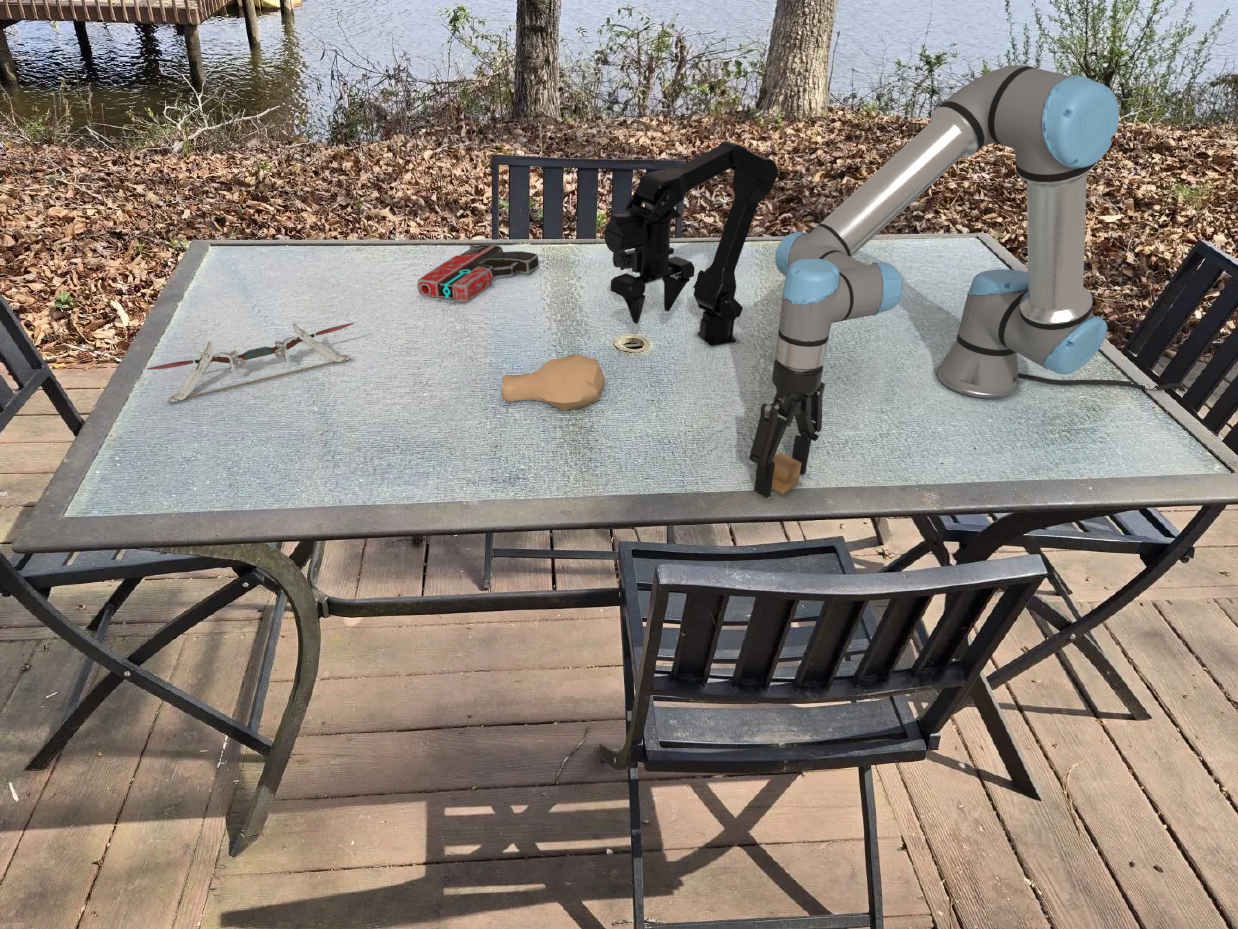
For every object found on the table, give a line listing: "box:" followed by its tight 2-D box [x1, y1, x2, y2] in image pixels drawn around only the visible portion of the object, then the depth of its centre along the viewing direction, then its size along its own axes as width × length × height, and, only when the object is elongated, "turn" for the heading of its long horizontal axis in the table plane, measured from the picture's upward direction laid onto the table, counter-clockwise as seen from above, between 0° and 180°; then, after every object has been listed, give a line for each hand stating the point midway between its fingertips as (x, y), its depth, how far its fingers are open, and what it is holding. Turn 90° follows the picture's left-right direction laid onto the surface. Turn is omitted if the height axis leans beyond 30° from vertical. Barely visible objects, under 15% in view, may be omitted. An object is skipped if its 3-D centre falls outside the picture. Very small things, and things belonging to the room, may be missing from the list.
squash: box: [500, 353, 606, 411], centre depth 166 cm, size 11×20×9 cm, turn 90°
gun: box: [416, 243, 540, 303], centre depth 216 cm, size 4×31×19 cm
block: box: [771, 451, 801, 495], centre depth 146 cm, size 4×4×4 cm
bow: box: [146, 322, 355, 403], centre depth 169 cm, size 39×2×10 cm, turn 124°
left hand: (651, 316), depth 179 cm, fingers open, 9 cm apart
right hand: (780, 481), depth 147 cm, fingers open, 9 cm apart
